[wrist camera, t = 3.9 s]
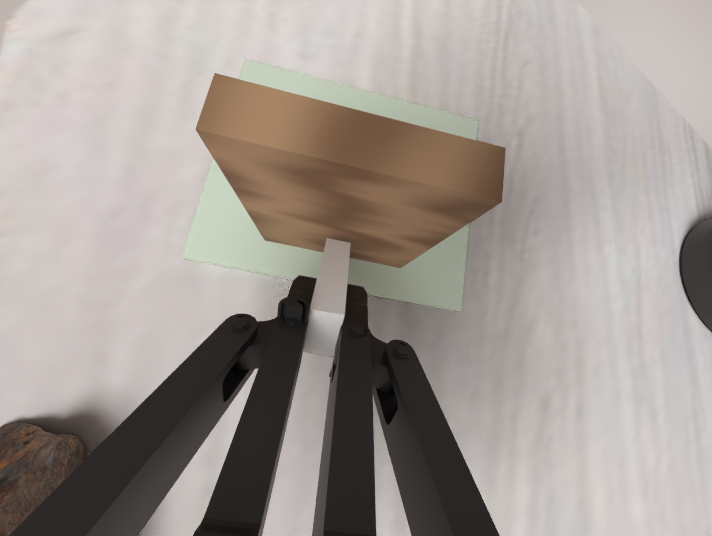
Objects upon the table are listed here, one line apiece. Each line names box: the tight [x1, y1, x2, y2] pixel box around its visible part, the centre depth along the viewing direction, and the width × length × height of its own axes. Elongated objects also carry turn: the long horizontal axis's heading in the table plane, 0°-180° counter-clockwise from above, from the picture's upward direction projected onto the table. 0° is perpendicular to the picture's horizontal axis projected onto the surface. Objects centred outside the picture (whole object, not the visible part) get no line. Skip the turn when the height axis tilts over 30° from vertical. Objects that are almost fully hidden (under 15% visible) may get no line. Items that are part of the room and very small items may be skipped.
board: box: [196, 73, 505, 268], centre depth 18 cm, size 12×2×14 cm, turn 80°
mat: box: [182, 58, 479, 311], centre depth 26 cm, size 24×20×1 cm
